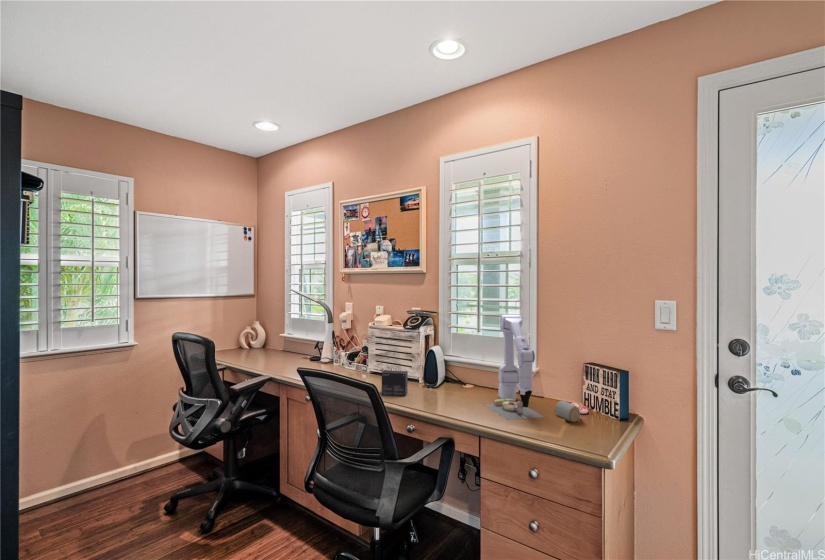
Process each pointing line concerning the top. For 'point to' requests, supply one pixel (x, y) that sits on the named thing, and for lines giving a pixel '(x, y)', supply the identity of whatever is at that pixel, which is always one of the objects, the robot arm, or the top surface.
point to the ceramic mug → (567, 411)
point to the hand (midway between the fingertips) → (525, 406)
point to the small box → (394, 383)
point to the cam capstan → (513, 406)
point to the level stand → (512, 414)
